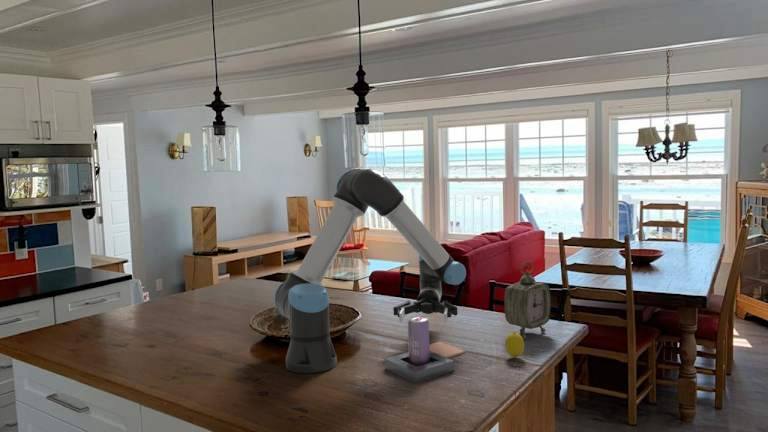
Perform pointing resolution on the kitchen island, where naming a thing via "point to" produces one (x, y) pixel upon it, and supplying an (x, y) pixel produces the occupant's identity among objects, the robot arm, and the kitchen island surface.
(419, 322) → the beverage can
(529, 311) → the tabletop clock
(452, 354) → the terracotta tile
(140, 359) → the kitchen island surface
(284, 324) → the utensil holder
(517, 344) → the lemon
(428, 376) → the socket block
